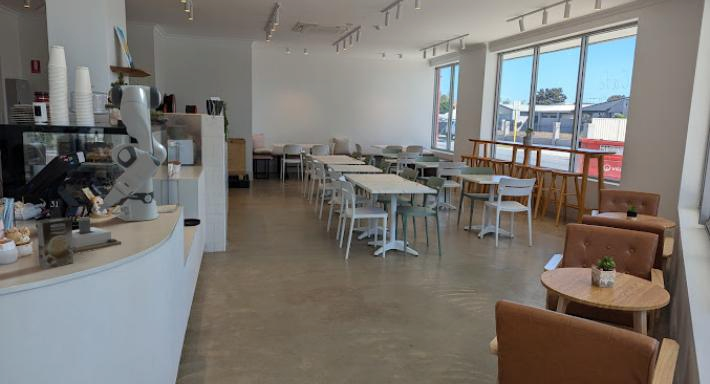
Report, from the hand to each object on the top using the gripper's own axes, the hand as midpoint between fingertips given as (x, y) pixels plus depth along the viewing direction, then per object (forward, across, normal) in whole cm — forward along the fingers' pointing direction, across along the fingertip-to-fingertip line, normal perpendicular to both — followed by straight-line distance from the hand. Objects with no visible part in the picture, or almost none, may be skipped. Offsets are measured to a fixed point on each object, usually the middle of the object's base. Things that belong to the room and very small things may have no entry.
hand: (102, 208), depth 199 cm
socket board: (+15, 0, +5) cm, 16 cm away
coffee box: (+17, +28, +4) cm, 33 cm away
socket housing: (+15, 0, +5) cm, 16 cm away
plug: (+15, 0, +5) cm, 15 cm away
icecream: (+30, -24, -9) cm, 39 cm away
